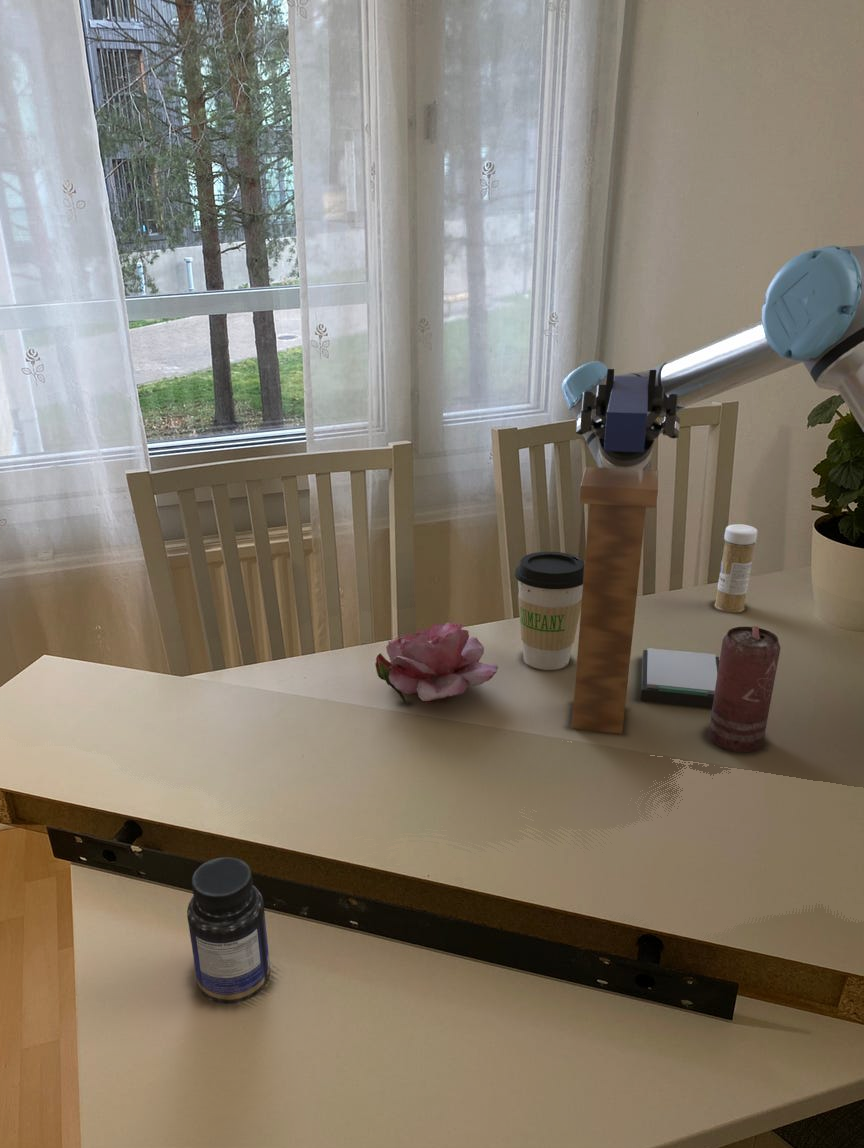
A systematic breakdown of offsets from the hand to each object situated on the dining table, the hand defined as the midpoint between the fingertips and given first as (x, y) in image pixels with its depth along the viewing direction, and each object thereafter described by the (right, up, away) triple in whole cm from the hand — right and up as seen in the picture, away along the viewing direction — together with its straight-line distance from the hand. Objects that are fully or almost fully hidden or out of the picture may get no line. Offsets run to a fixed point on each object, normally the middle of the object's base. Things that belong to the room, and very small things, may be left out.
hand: (630, 381), depth 105 cm
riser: (-2, -40, +8) cm, 41 cm away
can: (+13, -42, +4) cm, 44 cm away
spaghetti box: (-1, -6, -1) cm, 6 cm away
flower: (-22, -37, +15) cm, 46 cm away
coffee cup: (-6, -33, +23) cm, 41 cm away
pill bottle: (-41, -58, -28) cm, 77 cm away
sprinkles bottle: (+26, -25, +39) cm, 53 cm away
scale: (+11, -36, +16) cm, 41 cm away
